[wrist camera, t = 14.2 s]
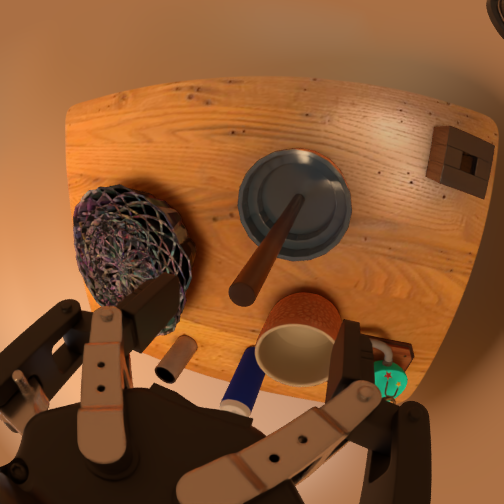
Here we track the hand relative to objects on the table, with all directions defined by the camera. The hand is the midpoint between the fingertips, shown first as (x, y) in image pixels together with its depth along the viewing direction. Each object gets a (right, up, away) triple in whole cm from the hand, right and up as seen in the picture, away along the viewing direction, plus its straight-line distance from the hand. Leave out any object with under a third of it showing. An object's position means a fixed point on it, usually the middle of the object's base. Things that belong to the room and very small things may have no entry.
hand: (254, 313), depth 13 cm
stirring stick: (+6, +10, +26) cm, 29 cm away
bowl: (+7, +10, +27) cm, 29 cm away
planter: (+9, -8, +34) cm, 36 cm away
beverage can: (+1, -17, +40) cm, 44 cm away
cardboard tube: (-14, -16, +45) cm, 49 cm away
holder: (+28, +16, +18) cm, 37 cm away
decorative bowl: (-19, +3, +38) cm, 42 cm away
